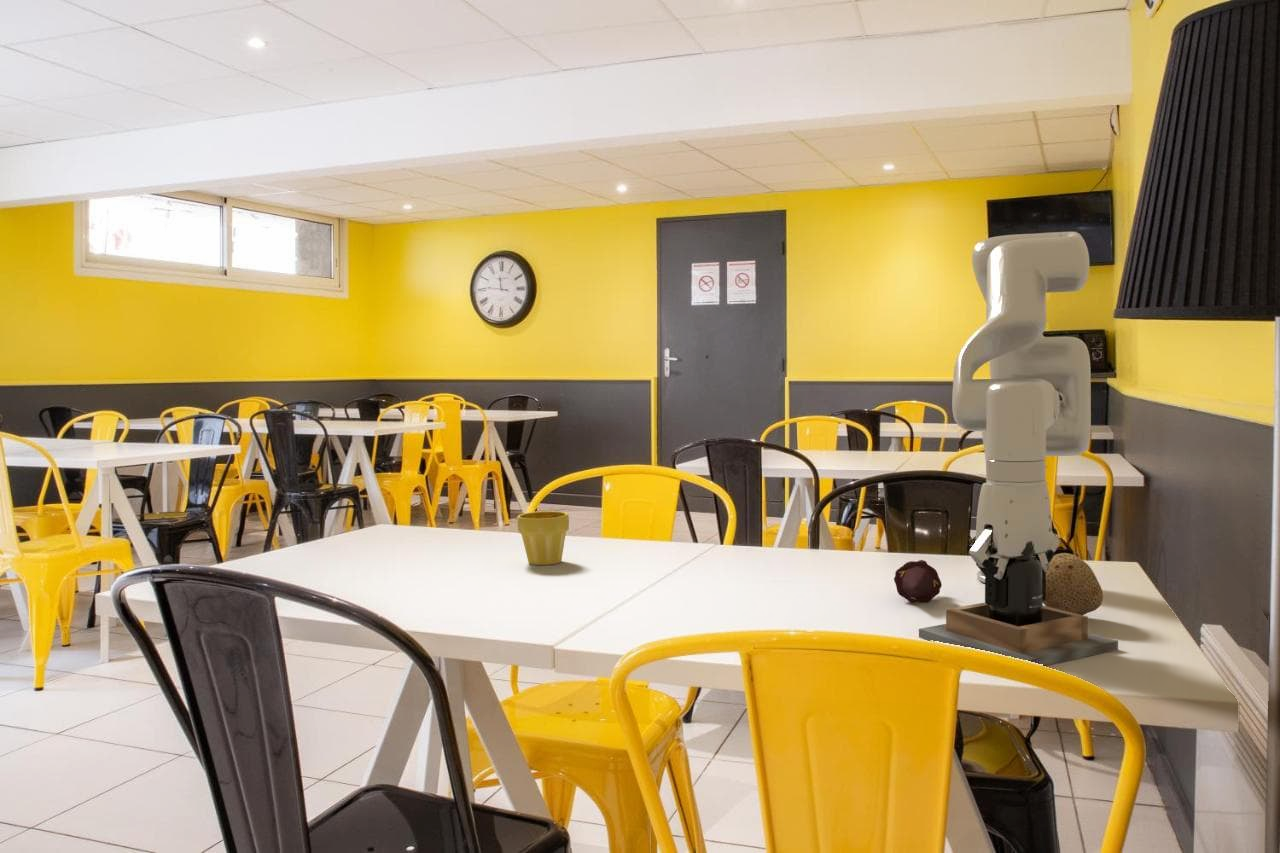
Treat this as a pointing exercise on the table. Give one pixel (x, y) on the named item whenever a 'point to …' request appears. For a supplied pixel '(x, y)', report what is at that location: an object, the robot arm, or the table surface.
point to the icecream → (917, 582)
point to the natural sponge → (1072, 585)
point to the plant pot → (543, 535)
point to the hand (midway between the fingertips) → (1015, 601)
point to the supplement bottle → (1022, 590)
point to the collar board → (1021, 635)
